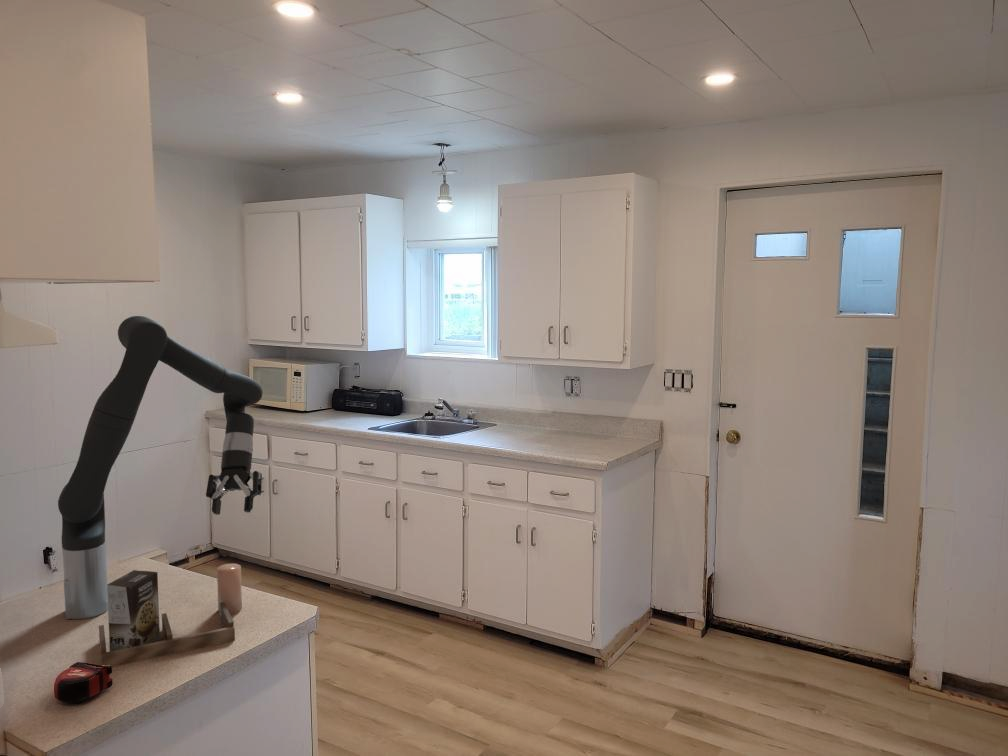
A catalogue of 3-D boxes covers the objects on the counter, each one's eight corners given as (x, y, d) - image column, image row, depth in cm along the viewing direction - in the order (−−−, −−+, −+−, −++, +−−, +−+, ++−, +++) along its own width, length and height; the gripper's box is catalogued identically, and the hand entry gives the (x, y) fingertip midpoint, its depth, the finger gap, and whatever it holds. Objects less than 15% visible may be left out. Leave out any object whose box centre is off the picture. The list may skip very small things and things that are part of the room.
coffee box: (134, 657, 163) (131, 587, 161) (108, 654, 164) (105, 584, 162) (161, 638, 172) (158, 571, 170) (136, 635, 173) (133, 568, 171)
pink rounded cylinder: (220, 616, 183) (219, 573, 182) (216, 607, 188) (215, 565, 187) (244, 611, 186) (242, 569, 185) (239, 603, 191) (238, 562, 189)
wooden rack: (101, 668, 158) (101, 650, 157) (99, 642, 169) (98, 625, 169) (234, 640, 171) (234, 623, 171) (224, 617, 183) (224, 602, 182)
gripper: (205, 450, 195) (198, 512, 190) (255, 446, 193) (250, 508, 187) (220, 457, 202) (214, 517, 197) (269, 453, 200) (264, 513, 194)
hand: (231, 513), depth 192 cm, fingers open, 8 cm apart
